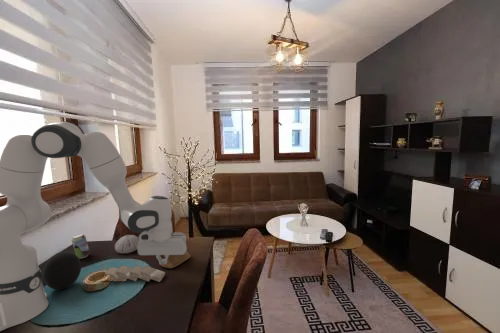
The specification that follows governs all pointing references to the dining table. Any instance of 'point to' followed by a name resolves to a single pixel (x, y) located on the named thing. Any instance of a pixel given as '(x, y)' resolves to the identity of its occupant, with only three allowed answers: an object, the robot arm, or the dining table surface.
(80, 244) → the beverage can
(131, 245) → the sea urchin shell
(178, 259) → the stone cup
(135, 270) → the domino
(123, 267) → the domino
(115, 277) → the domino
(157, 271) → the domino
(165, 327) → the dining table surface
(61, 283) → the decorative egg
